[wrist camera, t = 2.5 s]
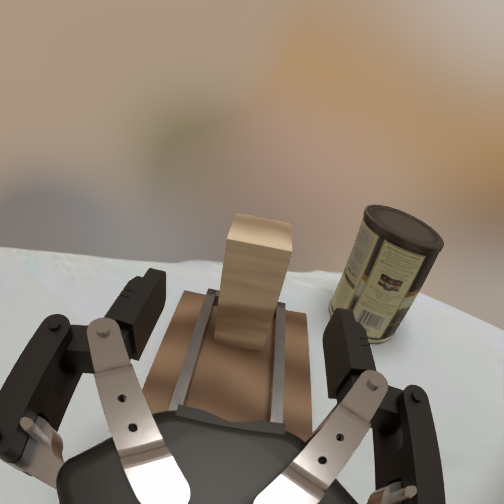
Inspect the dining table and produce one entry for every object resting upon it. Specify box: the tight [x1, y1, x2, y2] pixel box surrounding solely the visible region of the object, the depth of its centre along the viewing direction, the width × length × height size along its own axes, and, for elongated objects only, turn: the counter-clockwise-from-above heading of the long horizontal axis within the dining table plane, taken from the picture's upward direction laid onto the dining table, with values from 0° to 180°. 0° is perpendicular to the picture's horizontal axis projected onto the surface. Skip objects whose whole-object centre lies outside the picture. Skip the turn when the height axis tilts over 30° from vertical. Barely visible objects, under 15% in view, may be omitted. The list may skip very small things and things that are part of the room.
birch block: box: [213, 213, 292, 352], centre depth 26 cm, size 5×5×12 cm
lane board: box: [142, 288, 312, 441], centre depth 21 cm, size 28×15×2 cm, turn 175°
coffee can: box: [329, 205, 444, 344], centre depth 32 cm, size 10×10×14 cm
